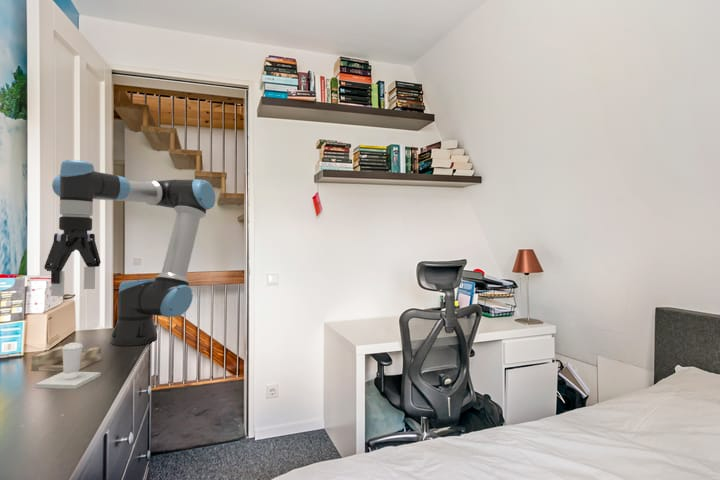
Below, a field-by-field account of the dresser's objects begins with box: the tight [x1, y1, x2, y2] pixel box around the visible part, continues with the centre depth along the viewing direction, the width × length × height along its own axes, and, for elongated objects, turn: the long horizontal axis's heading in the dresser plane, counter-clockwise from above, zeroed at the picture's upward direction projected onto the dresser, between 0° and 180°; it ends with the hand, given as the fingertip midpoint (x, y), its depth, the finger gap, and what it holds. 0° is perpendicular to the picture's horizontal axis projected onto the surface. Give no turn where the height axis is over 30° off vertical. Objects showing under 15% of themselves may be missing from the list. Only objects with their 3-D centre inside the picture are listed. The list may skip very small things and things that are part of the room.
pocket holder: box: [30, 345, 102, 372], centre depth 118 cm, size 12×12×4 cm
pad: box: [34, 371, 102, 390], centre depth 105 cm, size 10×10×1 cm
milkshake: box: [58, 341, 84, 380], centre depth 105 cm, size 5×5×10 cm
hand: (74, 292), depth 111 cm, fingers open, 13 cm apart
